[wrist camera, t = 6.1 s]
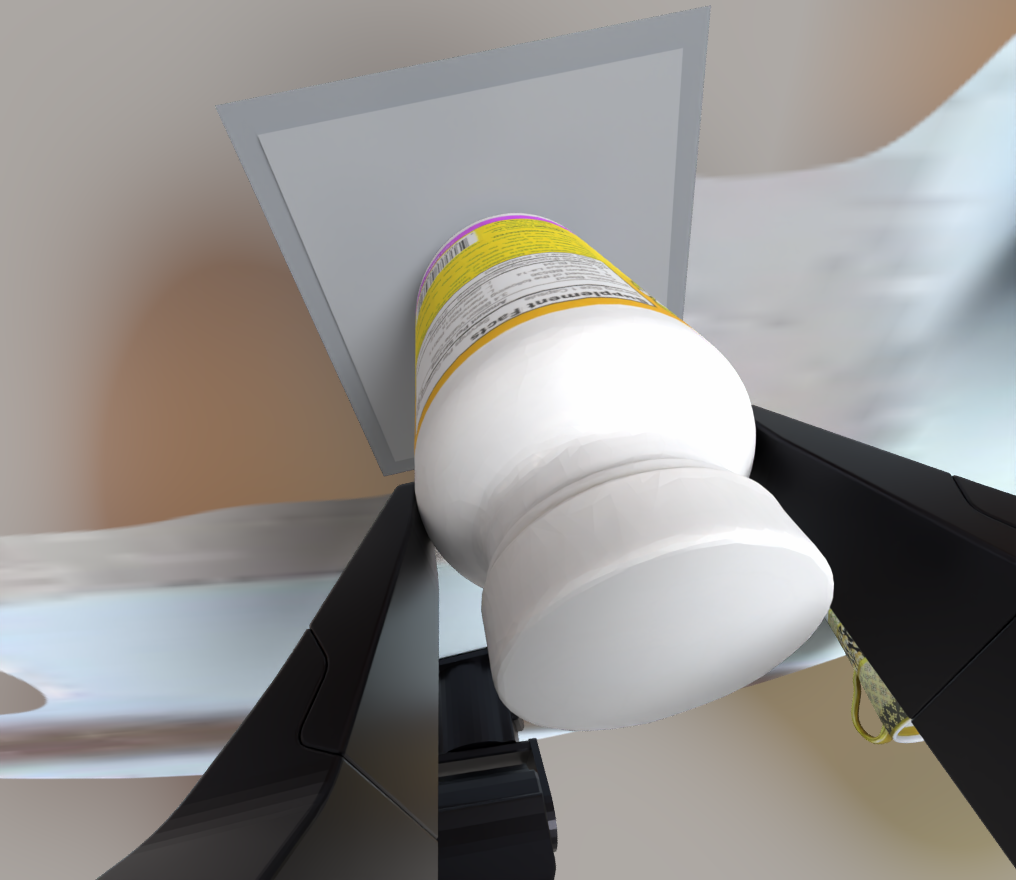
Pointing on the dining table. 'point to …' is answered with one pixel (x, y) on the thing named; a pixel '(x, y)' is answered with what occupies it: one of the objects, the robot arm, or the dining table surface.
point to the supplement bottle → (597, 485)
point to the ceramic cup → (873, 693)
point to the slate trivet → (473, 181)
